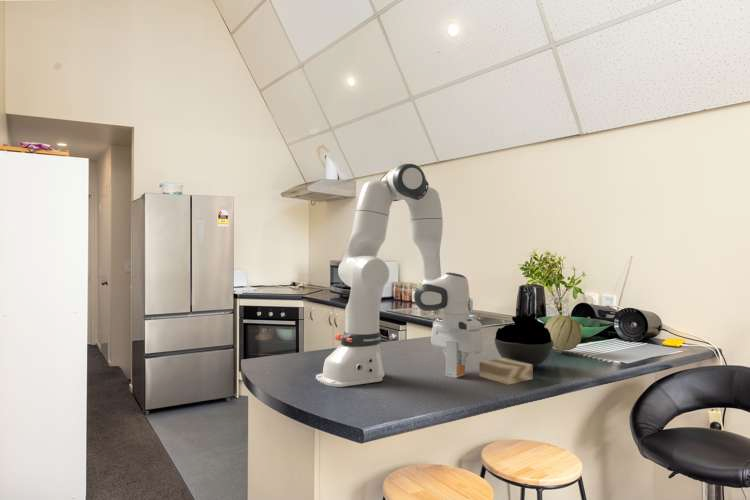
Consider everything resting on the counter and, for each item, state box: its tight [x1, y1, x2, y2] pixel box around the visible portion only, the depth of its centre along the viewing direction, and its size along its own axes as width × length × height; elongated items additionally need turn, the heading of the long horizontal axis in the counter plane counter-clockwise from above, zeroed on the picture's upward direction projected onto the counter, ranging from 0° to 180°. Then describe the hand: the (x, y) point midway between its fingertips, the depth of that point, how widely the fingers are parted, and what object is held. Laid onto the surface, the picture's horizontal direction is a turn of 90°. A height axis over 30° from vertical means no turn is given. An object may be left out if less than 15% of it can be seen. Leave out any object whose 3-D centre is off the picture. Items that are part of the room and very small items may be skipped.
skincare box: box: [445, 340, 466, 379], centre depth 161 cm, size 6×4×12 cm
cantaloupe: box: [544, 313, 583, 351], centre depth 202 cm, size 15×15×15 cm
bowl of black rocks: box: [494, 312, 554, 368], centre depth 173 cm, size 20×20×19 cm
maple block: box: [479, 357, 534, 386], centre depth 159 cm, size 12×12×5 cm
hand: (455, 362), depth 161 cm, fingers closed on skincare box, 5 cm apart
